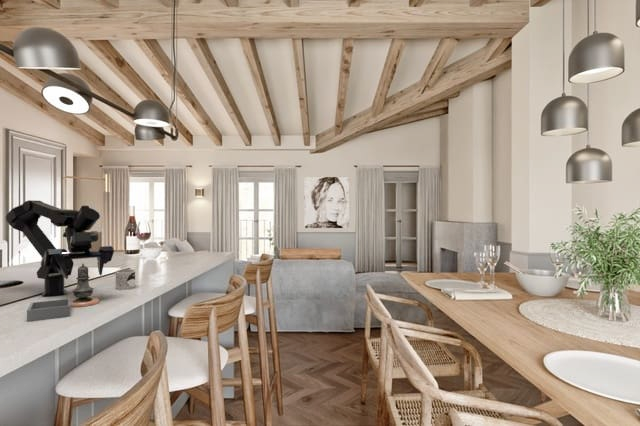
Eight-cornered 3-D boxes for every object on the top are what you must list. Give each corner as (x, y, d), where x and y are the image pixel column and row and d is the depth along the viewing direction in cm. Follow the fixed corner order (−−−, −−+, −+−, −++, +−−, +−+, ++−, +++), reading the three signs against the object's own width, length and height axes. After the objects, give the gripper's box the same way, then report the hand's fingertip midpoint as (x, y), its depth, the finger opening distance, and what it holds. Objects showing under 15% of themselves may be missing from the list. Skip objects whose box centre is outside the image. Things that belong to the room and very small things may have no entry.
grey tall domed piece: (83, 303, 112) (83, 265, 112) (67, 302, 113) (67, 264, 113) (98, 298, 118) (98, 262, 118) (82, 297, 119) (82, 261, 119)
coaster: (67, 302, 117) (67, 299, 117) (98, 299, 121) (98, 296, 121) (66, 308, 110) (66, 305, 110) (99, 304, 114) (99, 301, 114)
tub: (30, 312, 105) (31, 302, 105) (70, 308, 110) (70, 298, 110) (26, 321, 97) (26, 310, 97) (70, 316, 102) (70, 305, 102)
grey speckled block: (130, 289, 136) (130, 272, 136) (112, 290, 135) (112, 272, 135) (141, 284, 146) (141, 268, 146) (124, 284, 145) (124, 268, 145)
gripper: (45, 223, 112) (51, 263, 104) (112, 222, 125) (122, 257, 117) (41, 246, 117) (46, 286, 110) (106, 243, 130) (115, 278, 123)
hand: (84, 276), depth 115 cm, fingers open, 9 cm apart
